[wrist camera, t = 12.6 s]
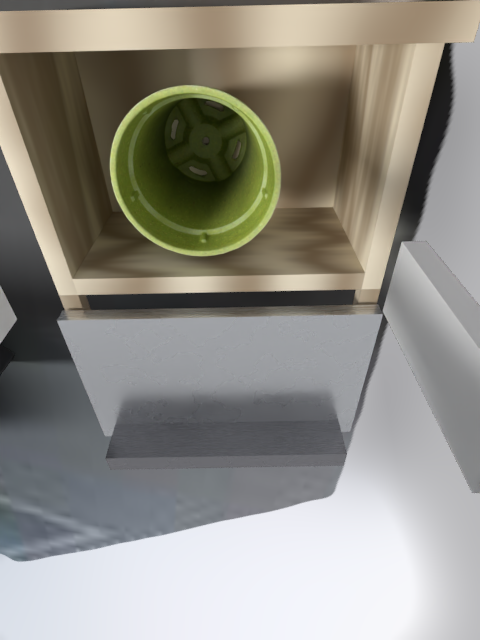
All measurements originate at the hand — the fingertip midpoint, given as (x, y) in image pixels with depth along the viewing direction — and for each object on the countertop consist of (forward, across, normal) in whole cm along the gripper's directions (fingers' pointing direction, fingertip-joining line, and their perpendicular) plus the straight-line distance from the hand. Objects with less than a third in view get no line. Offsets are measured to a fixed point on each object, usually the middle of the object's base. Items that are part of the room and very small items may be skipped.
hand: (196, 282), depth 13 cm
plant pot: (+20, -1, 0) cm, 20 cm away
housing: (+20, 0, -7) cm, 21 cm away
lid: (+9, 0, -14) cm, 17 cm away
